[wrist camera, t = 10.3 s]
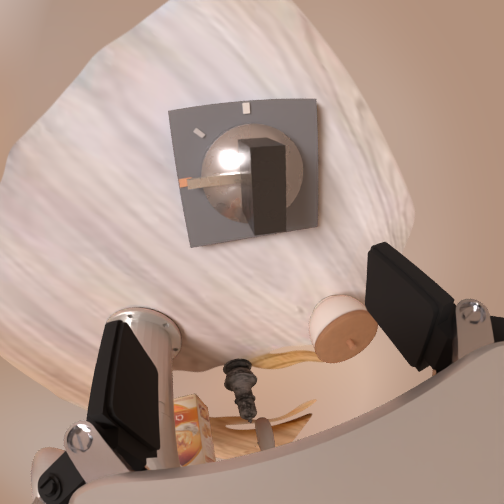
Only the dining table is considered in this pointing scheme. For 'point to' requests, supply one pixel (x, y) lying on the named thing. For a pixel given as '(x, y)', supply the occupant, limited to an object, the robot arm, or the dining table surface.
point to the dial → (252, 176)
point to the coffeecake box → (193, 431)
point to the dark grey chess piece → (241, 386)
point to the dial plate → (216, 122)
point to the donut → (264, 434)
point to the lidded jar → (340, 328)
